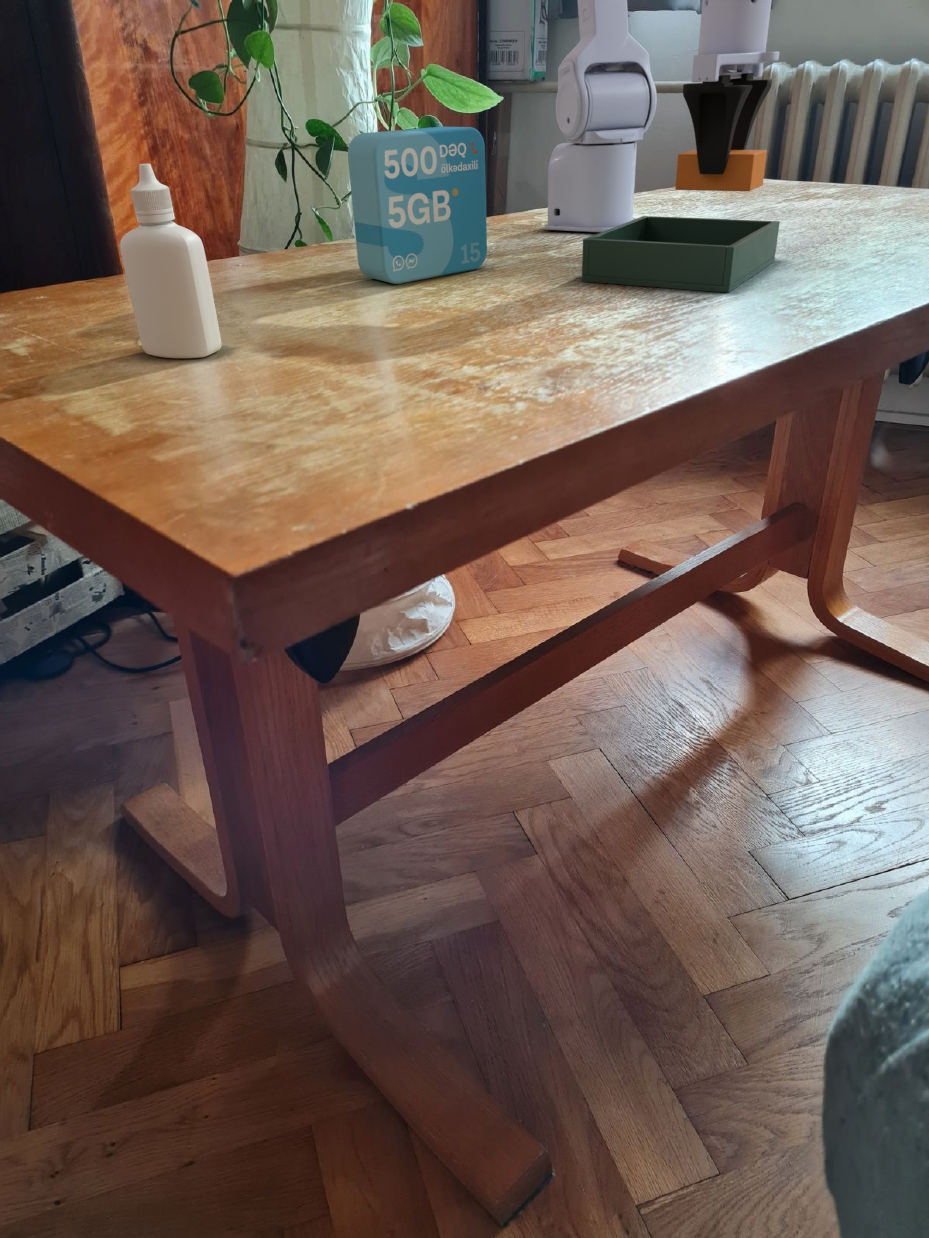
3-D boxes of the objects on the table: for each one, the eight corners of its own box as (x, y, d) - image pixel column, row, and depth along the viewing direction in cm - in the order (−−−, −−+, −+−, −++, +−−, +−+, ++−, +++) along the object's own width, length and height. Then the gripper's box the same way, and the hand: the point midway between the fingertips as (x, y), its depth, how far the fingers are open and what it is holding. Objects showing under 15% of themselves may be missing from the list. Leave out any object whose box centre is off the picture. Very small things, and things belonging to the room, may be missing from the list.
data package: (385, 287, 80) (372, 136, 73) (358, 280, 83) (344, 134, 76) (488, 267, 86) (485, 126, 79) (460, 262, 89) (455, 125, 83)
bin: (581, 281, 79) (582, 239, 77) (640, 253, 89) (643, 216, 87) (728, 293, 73) (734, 247, 71) (774, 262, 83) (780, 221, 81)
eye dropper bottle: (192, 339, 66) (156, 159, 60) (230, 352, 63) (196, 162, 56) (137, 352, 64) (93, 165, 57) (173, 366, 60) (131, 169, 54)
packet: (674, 190, 83) (677, 154, 81) (690, 184, 86) (693, 149, 85) (749, 191, 80) (754, 154, 78) (762, 186, 83) (767, 150, 81)
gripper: (762, -16, 68) (740, 180, 75) (806, -8, 79) (783, 163, 86) (673, -8, 71) (660, 179, 78) (727, -2, 82) (711, 163, 89)
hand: (719, 171), depth 82 cm, fingers closed on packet, 4 cm apart
